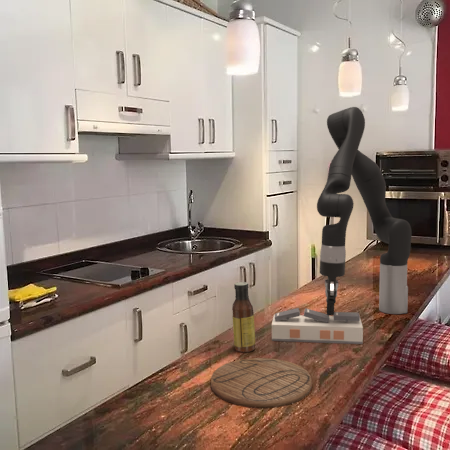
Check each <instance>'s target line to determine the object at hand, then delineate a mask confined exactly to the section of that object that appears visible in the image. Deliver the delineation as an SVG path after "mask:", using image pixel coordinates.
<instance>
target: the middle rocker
mask: <svg viewBox="0 0 450 450" xmlns="http://www.w3.org/2000/svg"><path fill="white" fill-rule="evenodd" d="M303 315H304V316H305V317H308V318H312V319H314V320H315V321H317V320H319V321H322V322H326V323H328V322H329V316H330V315H327V313H324V312H320V311H317V310H313V309H310V308H304V311H303Z"/></svg>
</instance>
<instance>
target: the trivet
mask: <svg viewBox="0 0 450 450" xmlns="http://www.w3.org/2000/svg"><path fill="white" fill-rule="evenodd" d="M210 386H211V387H210V388H211V390H212V392H213V393H214V394H215V395H216V396H217V397H219V398H220V399H221V400H223V401H225V402H228V403H231V404H233V405H236V406H242V407H247V408H260V409H261V408H262V409H267V408H279V407H282V406H283V407H284V406H287V405H291V404H294V403H297V402H299V401H301V400H302V399H304V398H305V397H307V396H308V395H309V394H310V392H311V390H312V376H311V374H310V373H309V371H308V370H307V369H305V368H303V366H301V365H298V364H296V363H294V362H291V361H288V360H287V361H286V360H284V359H279V358H278V359H277V358H270V357H268V358H267V357H253V358H244V359H237V360H234V361H230V362H228V363H227V362H226V363H225V364H223V365H221V366H219V367H217V368H216V370H214V371H213V372H212V374H211V377H210Z"/></svg>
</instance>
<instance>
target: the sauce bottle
mask: <svg viewBox="0 0 450 450" xmlns="http://www.w3.org/2000/svg"><path fill="white" fill-rule="evenodd" d="M233 288H234V290H235V291H234V292H235V300H234V301H233V303H232V310H231V311H232V327H233V329H232V331H233V345H234V348H235V351H237V352H241V353H250V352H253V351H254V350H255V349H256V333H255V332H256V331H255V330H256V329H255V314H254V307H253V305H252V303H251V300H250V298H249V282H246V281H239V282H235V283H234V287H233Z"/></svg>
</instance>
